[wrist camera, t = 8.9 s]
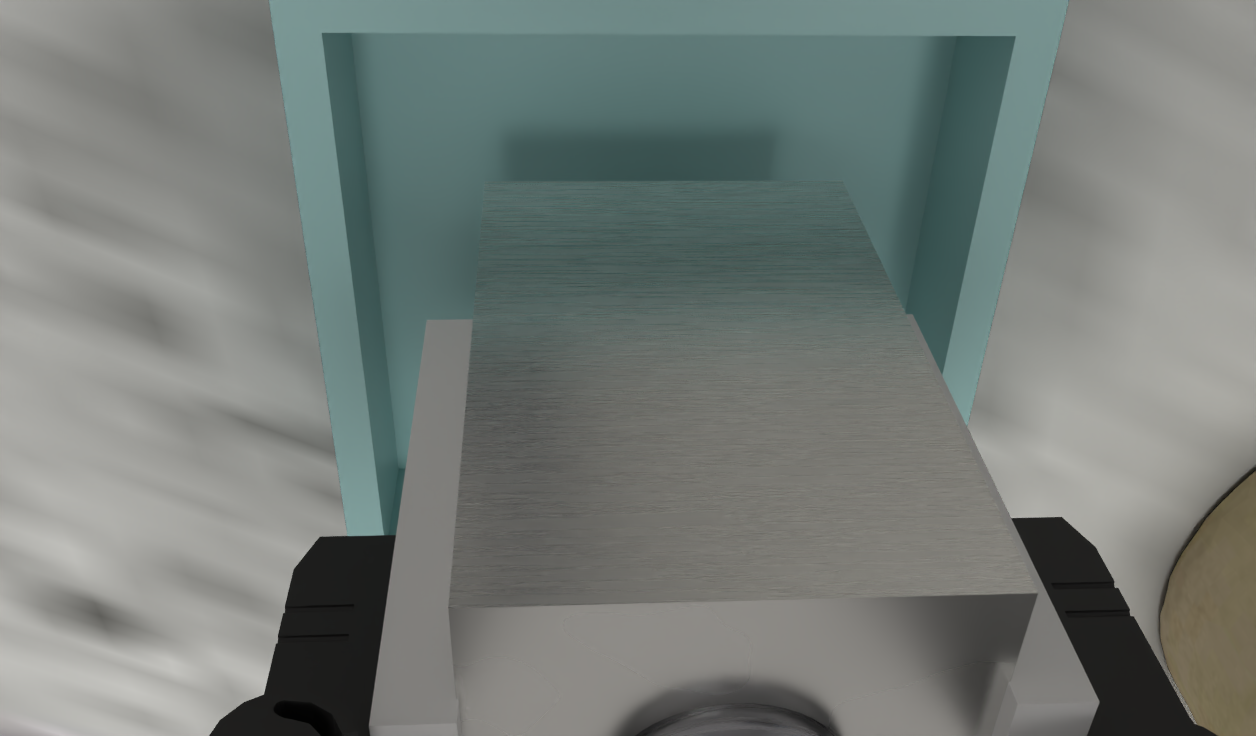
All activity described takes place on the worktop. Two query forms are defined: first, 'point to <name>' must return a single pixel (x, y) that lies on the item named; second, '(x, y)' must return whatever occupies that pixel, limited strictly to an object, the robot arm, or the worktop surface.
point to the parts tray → (638, 154)
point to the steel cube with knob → (715, 479)
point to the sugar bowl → (1216, 618)
